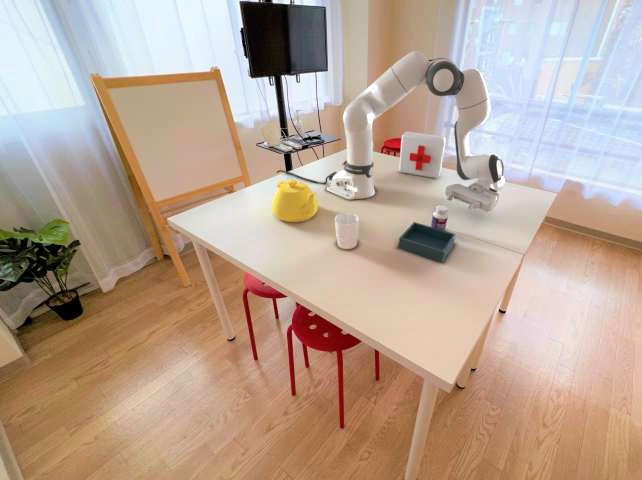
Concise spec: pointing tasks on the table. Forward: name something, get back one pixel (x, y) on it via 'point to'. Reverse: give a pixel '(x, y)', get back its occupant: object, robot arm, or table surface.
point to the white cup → (346, 230)
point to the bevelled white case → (421, 154)
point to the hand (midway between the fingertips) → (459, 202)
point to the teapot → (294, 201)
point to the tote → (427, 241)
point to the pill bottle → (439, 218)
